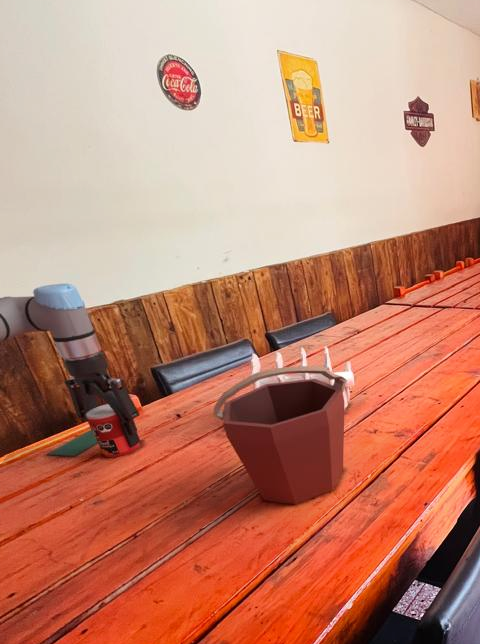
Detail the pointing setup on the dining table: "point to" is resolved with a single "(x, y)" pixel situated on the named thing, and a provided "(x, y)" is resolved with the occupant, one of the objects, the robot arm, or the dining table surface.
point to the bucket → (288, 433)
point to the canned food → (109, 431)
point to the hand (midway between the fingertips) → (120, 443)
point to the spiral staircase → (304, 376)
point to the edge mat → (76, 445)
